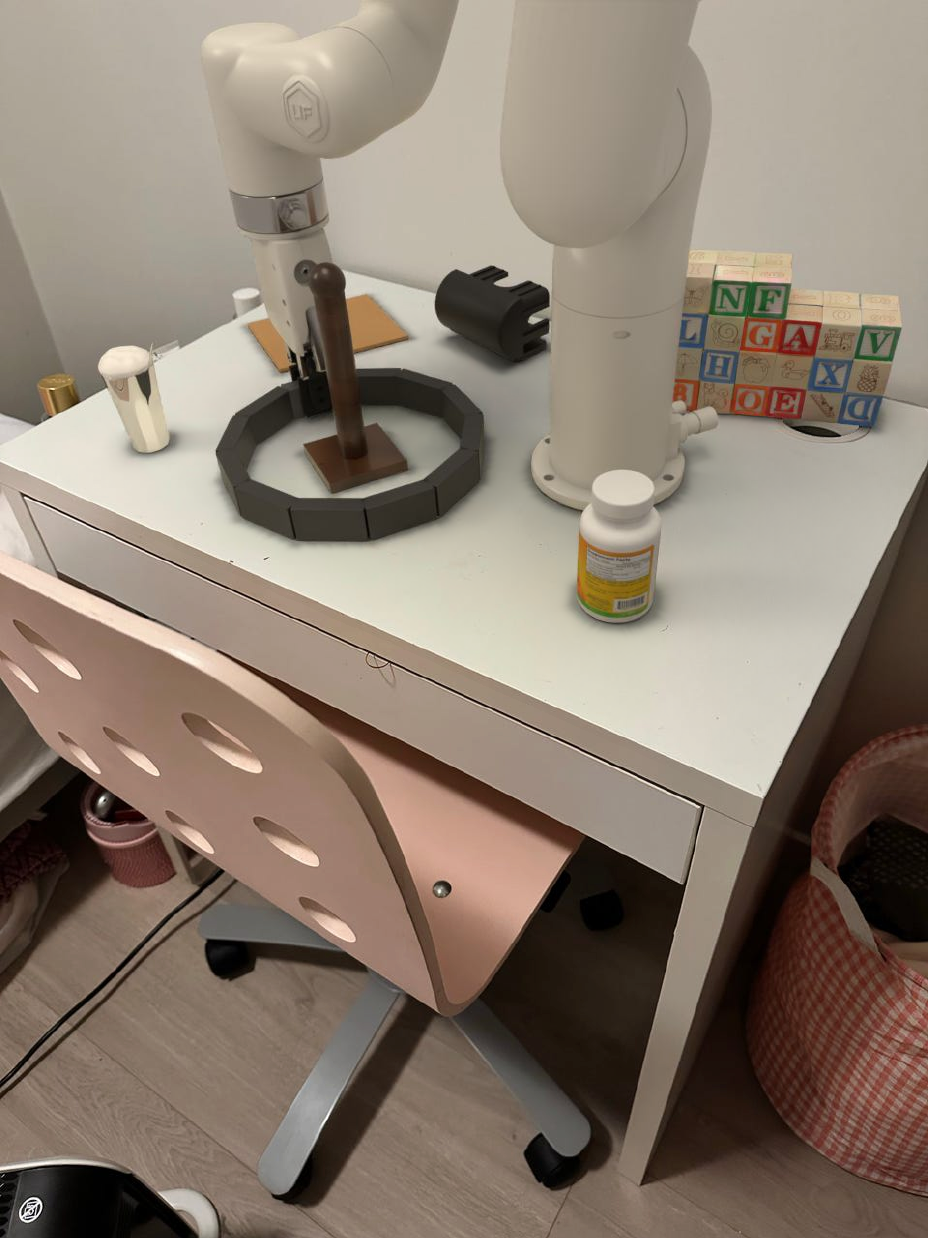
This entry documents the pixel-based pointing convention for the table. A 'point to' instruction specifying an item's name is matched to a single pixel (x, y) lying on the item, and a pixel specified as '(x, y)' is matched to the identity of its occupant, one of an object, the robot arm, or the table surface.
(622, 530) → the supplement bottle
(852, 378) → the stack of blocks
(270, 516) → the ring
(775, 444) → the table surface
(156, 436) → the milkshake
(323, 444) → the headphone stand
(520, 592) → the table surface
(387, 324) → the desk pad
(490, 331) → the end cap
